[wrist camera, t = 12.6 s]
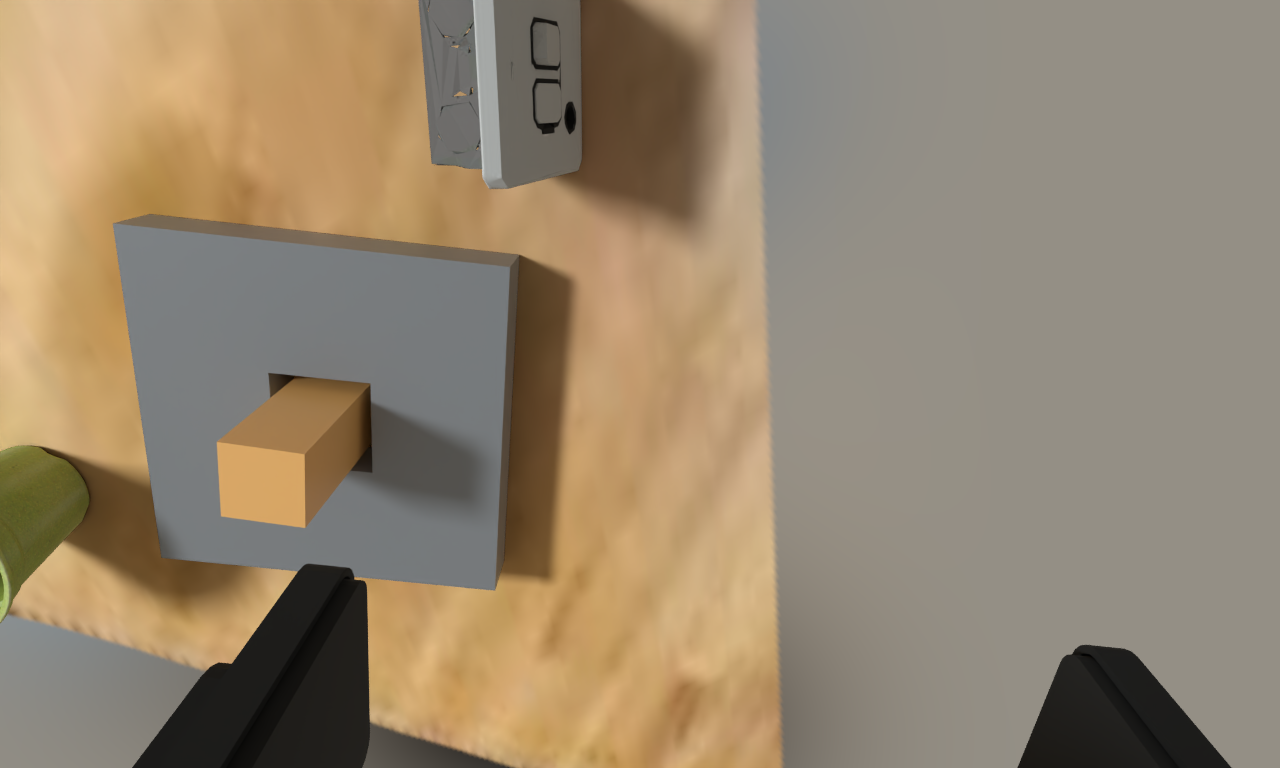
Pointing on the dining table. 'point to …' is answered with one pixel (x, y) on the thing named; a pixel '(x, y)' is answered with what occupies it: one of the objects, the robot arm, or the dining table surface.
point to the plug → (294, 451)
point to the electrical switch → (504, 87)
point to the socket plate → (330, 349)
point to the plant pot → (34, 513)
